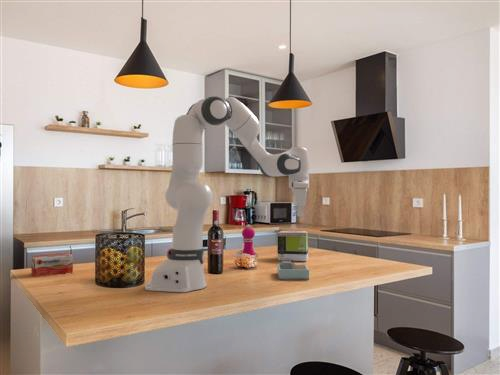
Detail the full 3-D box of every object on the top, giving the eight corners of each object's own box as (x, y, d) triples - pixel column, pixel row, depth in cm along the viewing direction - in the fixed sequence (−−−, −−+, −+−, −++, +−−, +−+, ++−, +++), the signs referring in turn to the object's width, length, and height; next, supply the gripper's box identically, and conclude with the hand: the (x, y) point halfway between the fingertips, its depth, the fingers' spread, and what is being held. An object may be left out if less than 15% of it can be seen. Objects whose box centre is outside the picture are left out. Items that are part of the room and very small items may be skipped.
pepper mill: (254, 268, 188) (254, 225, 188) (238, 268, 189) (239, 225, 189) (257, 266, 195) (257, 224, 195) (242, 265, 196) (242, 223, 197)
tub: (279, 279, 165) (279, 269, 166) (277, 273, 178) (277, 263, 178) (309, 279, 165) (309, 269, 165) (305, 273, 178) (305, 264, 178)
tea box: (308, 258, 217) (308, 230, 217) (306, 262, 207) (306, 232, 207) (280, 257, 220) (280, 230, 221) (277, 260, 211) (277, 232, 211)
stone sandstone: (295, 277, 168) (295, 264, 168) (293, 275, 172) (293, 263, 172) (305, 276, 168) (305, 264, 168) (302, 274, 172) (302, 262, 172)
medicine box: (33, 277, 167) (34, 258, 167) (30, 274, 174) (31, 255, 174) (73, 273, 176) (73, 255, 176) (69, 270, 183) (69, 252, 183)
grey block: (282, 274, 172) (282, 262, 172) (281, 272, 176) (281, 261, 176) (291, 274, 172) (291, 262, 172) (290, 272, 176) (290, 261, 176)
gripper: (289, 184, 188) (289, 214, 188) (293, 183, 168) (293, 217, 168) (303, 184, 188) (303, 214, 188) (309, 183, 168) (308, 217, 168)
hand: (298, 216), depth 178 cm, fingers open, 8 cm apart
